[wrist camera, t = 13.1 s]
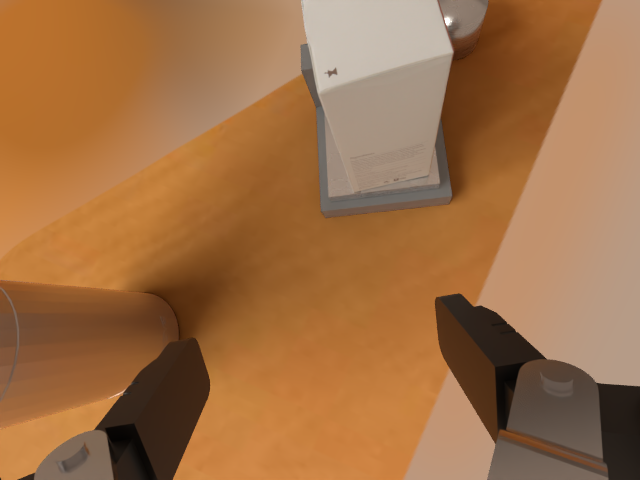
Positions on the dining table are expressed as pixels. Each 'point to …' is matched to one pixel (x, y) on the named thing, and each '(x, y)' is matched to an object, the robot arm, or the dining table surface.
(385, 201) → the scale base
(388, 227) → the dining table surface
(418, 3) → the small box
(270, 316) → the dining table surface
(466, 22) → the cylinder
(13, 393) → the robot arm
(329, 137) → the platter
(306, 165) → the dining table surface
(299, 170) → the dining table surface
